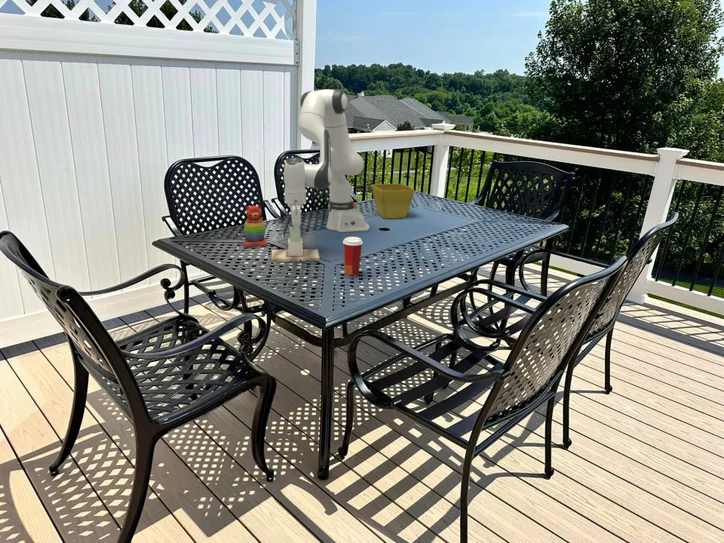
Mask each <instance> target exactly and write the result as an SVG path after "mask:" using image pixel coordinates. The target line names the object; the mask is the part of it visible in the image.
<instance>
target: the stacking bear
mask: <svg viewBox="0 0 724 543" xmlns="http://www.w3.org/2000/svg"><path fill="white" fill-rule="evenodd" d="M261 209H262V206H261V205H251V206H250V205H248V206H246V208H245V210H246V211H245V212H246V213H245V214H246V216H247V218H246V220H245V222H244V226H243V230H244V232H243V233H244V237H245V240H244V241H243V244H242V245H243V247H244V246H246V247H245V248H252V246H254V247H260V246H262V247H263V246H265V247H267V246H269V245H268V241H267V240H266V239H265V235H266V227H265V222H264V221H263V218H262V210H261ZM263 248H264V247H263Z"/></svg>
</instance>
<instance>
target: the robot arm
mask: <svg viewBox="0 0 724 543" xmlns="http://www.w3.org/2000/svg"><path fill="white" fill-rule="evenodd" d="M348 101H349V100H348V96H347V94H346V92H345V91H344V90H343V89H337V88H336V89H326V88H325V89H321V90H313V91H311V90H309V91H306V92H304V93H303V94H302V95H301V96H300V101H299V102H300V104H299V105H300V112H299V115H298V116H299V117H298V124H297V126H298V130H299V132H300V134H301V135H302V136H303V137H305V139H307V140H308V141H311V142H314V143H315V144H317V145H319V147H320V148H319V151H320V153H319V158H318V159H319V161H318V162H319V163H318V164H313V163H312V164H311V163H305V162H304V159H303V158H301V157H290V158H288V159H286V160H284V161H285V162H284V166H283V167H284V170H283V182H284V203H285V204H286V205H287V206H288V207H289V210H290V214H291V216H290V217H291V224H292V227H294V233H295V234H298V233H299V226H301V225H302V210H301V209H302V207H304V204H305V203H307V191H306V188H315V189H321V190H325V189H327V188H328V187H329V199H328V218H327V223H326V225H325V228H327V229H328V230H330V231H331V230H332V231H335V232H339V233H349V232H351V233H352V232H366V231H369V230H370V225H369V224H368V222H367V223H366V219H365V215H364V214H363V213H362V212H360V211H359V210H358V209H357V205H358V204H357V203H356V202H354V201H353V200H352V185H351V183H350V182H349V181H348V180H347V178H346V176H358V175H359V174H361V173H362V171H363V169H364V166H365V164H364V163H365V162H364V158H363V157H362V156H361V155H360V154H359V153H358V152H357V150H356V149H355V148H354V146H353V144H352V142H351V138H350V136H349V129H348V125H347V123H348V122H347V119H346V114H345V111H346V110H347V109H348V104H349V103H348ZM331 148H332V149H331Z"/></svg>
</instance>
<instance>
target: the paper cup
mask: <svg viewBox="0 0 724 543" xmlns="http://www.w3.org/2000/svg"><path fill="white" fill-rule="evenodd" d="M342 243H343V253H344V254H343V255H344V256H343V257H344V261H343V262H344V273H345V275H348V276H357V275H358V274H360V267H361V266H360V265H361V258H362V257H361V256H362V247H363V243H364V242H363V240H362V238H360V237H357V236H348V237H347V236H346V237H345V238H344V239H343V241H342Z"/></svg>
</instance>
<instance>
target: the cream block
mask: <svg viewBox="0 0 724 543" xmlns="http://www.w3.org/2000/svg"><path fill="white" fill-rule="evenodd" d="M300 240H301V242H290V237H289V238H288V239H287V242H288V243H287V246H288V248H287V250H288V256H303V250H304V249H303V243H304V242H303V238H302V237H300Z"/></svg>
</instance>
